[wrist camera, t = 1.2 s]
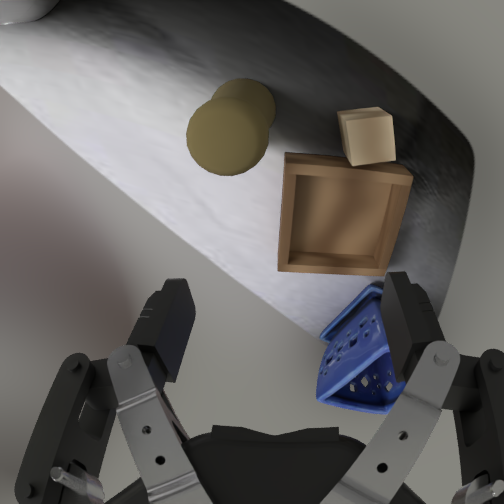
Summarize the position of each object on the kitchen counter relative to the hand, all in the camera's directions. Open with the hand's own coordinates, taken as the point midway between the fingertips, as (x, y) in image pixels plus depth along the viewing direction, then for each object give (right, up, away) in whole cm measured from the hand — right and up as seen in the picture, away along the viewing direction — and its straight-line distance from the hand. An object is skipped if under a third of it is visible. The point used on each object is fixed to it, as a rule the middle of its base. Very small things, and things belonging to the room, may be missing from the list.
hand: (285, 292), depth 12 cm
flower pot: (+15, -7, +29) cm, 33 cm away
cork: (-2, +15, +14) cm, 20 cm away
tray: (+8, +6, +19) cm, 22 cm away
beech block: (+9, +13, +14) cm, 21 cm away
